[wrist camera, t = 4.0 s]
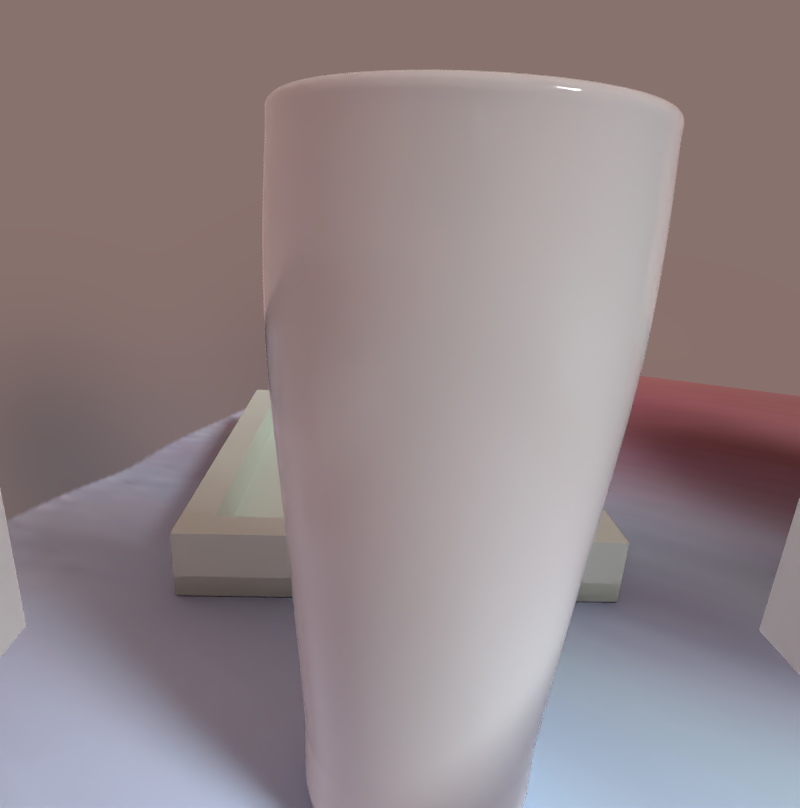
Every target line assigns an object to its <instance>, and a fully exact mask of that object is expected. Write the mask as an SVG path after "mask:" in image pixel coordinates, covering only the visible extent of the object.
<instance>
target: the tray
mask: <svg viewBox="0 0 800 808" xmlns="http://www.w3.org/2000/svg"><path fill="white" fill-rule="evenodd" d="M170 542H171V554H172V566H173V577H174V589H175V595H195V596H260V597H292V590H291V580H290V571H289V562H288V553H287V544H286V536H285V527H284V518H283V509H282V501H281V492H280V483H279V474H278V466H277V457H276V448H275V439H274V430H273V421H272V411H271V402H270V392H269V390H257V391H256V392H255V394H254V396H253V398H252V399H251V401H250V403H249V404H248V406H247V407H246V409H245V411H244V412H243V414H242V415H241V417H240V419H239V420H238V422H237V424H236V425H235V427H234V429H233V430H232V432H231V434H230V435H229V437H228V438H227V440H226V442H225V443H224V445H223V447H222V448H221V450H220V452H219V453H218V455H217V457H216V458H215V460H214V461H213V463H212V465H211V466H210V468H209V470H208V471H207V473H206V475H205V476H204V478H203V480H202V481H201V483H200V484H199V486H198V488H197V489H196V491H195V493H194V494H193V496H192V498H191V499H190V501H189V503H188V504H187V506H186V507H185V509H184V511H183V512H182V514H181V516H180V517H179V519H178V521H177V522H176V524H175V526H174V527H173V529H172V530H171V532H170ZM628 548H629V542H628V541H627V539H626V538H625V537H624V535H623V534H622V533H621V531H620V530H619V529H618V527H617V526H616V525H615V523H614V522H613V521H612V519H611V518H610V517H609V515H608V514H607V513H606V511H605V510H604V509H603V512H602V515H601V518H600V522H599V525H598V528H597V532H596V535H595V539H594V542H593V545H592V549H591V552H590V556H589V559H588V562H587V566H586V569H585V573H584V576H583V579H582V583H581V586H580V590H579V593H578V597H577V600H576V601H586V602H617V601H618V596H619V591H620V586H621V582H622V577H623V572H624V567H625V562H626V557H627V553H628Z"/></svg>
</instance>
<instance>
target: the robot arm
mask: <svg viewBox="0 0 800 808" xmlns="http://www.w3.org/2000/svg"><path fill="white" fill-rule="evenodd" d="M25 627H26V621H25V616H24V610H23V605H22V600H21V595H20V589H19V584H18V579H17V573H16V568H15V563H14V558H13V552H12V547H11V542H10V536H9V531H8V526H7V520H6V515H5V510H4V505H3V500H2V494H1V489H0V658H1V657H2V656H3V654H4V653H5V652H6V651H7V649H8V648H9V647H10V646H11V644H12V643H13V642H14V641H15V639H16V638H17V637H18V636H19V634H20V633H21V632H22V631H23V629H24V628H25ZM759 631H760V632H761V633H762V634H763V635H764V637H765V638H766V639H767V640H768V641H769V642H770V643H771V644H772V645H773V646H774V648H775V649H776V650H777V651H778V652H779V653H780V654H781V655H782V656H783V657H784V658H785V660H786V661H787V662H788V663H789V664H790V665H791V666H792V667H793V668H794V669H795V671H796V672H797V673H798V674H799V675H800V498H799V501H798V504H797V507H796V511H795V514H794V517H793V520H792V524H791V527H790V530H789V534H788V537H787V540H786V543H785V547H784V550H783V553H782V556H781V560H780V563H779V566H778V569H777V573H776V576H775V579H774V582H773V586H772V589H771V592H770V596H769V599H768V602H767V605H766V609H765V612H764V615H763V618H762V622H761V625H760V628H759Z"/></svg>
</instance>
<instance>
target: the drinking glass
mask: <svg viewBox="0 0 800 808" xmlns="http://www.w3.org/2000/svg"><path fill="white" fill-rule="evenodd" d="M683 127H684V117H683V115H682V113H681V111H680V110H679V109H678V108H677V107H676V106H675V105H673V104H672V103H670V102H669V101H667V100H665V99H662V98H660V97H657V96H655V95H652V94H649V93H645V92H642V91H638V90H634V89H630V88H626V87H621V86H616V85H610V84H605V83H598V82H593V81H586V80H579V79H571V78H563V77H554V76H544V75H535V74H522V73H521V74H520V73H508V72H491V71H468V70H385V71H366V72H352V73H341V74H332V75H324V76H317V77H312V78H306V79H302V80H298V81H294V82H291V83H288V84H285V85H282V86H280V87H278V88H276V89H275V90H274V91H273V92H271V93H270V94H269V95H268V97H267V99H266V102H265V137H264V166H263V213H262V253H263V255H262V256H263V258H262V259H263V297H264V298H263V300H264V322H265V342H266V357H267V369H268V381H269V392H270V402H271V411H272V421H273V430H274V439H275V448H276V457H277V466H278V474H279V483H280V492H281V501H282V509H283V518H284V527H285V536H286V544H287V553H288V562H289V571H290V580H291V590H292V599H293V608H294V617H295V626H296V636H297V645H298V655H299V664H300V674H301V684H302V694H303V705H304V715H305V767H306V780H307V787H308V792H309V796H310V800H311V803H312V806H313V808H523V806H524V802H525V798H526V794H527V788H528V783H529V777H530V771H531V765H532V759H533V753H534V748H535V745H536V741H537V737H538V734H539V730H540V726H541V723H542V719H543V715H544V712H545V708H546V705H547V701H548V698H549V694H550V690H551V687H552V683H553V680H554V676H555V673H556V669H557V666H558V662H559V659H560V655H561V652H562V648H563V645H564V641H565V638H566V634H567V631H568V628H569V624H570V621H571V617H572V614H573V610H574V607H575V603H576V600H577V597H578V593H579V590H580V586H581V583H582V579H583V576H584V573H585V569H586V566H587V562H588V559H589V556H590V552H591V549H592V545H593V542H594V539H595V535H596V532H597V528H598V525H599V522H600V518H601V515H602V512H603V508H604V505H605V501H606V498H607V494H608V491H609V488H610V484H611V481H612V477H613V474H614V471H615V467H616V464H617V460H618V457H619V453H620V450H621V446H622V443H623V439H624V436H625V432H626V429H627V425H628V421H629V418H630V414H631V410H632V406H633V403H634V399H635V395H636V391H637V387H638V383H639V379H640V375H641V370H642V366H643V362H644V357H645V353H646V349H647V344H648V339H649V335H650V330H651V325H652V320H653V315H654V311H655V305H656V300H657V295H658V289H659V283H660V279H661V273H662V267H663V260H664V255H665V249H666V243H667V237H668V230H669V224H670V217H671V210H672V203H673V196H674V189H675V181H676V174H677V166H678V159H679V151H680V144H681V137H682V132H683Z"/></svg>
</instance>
